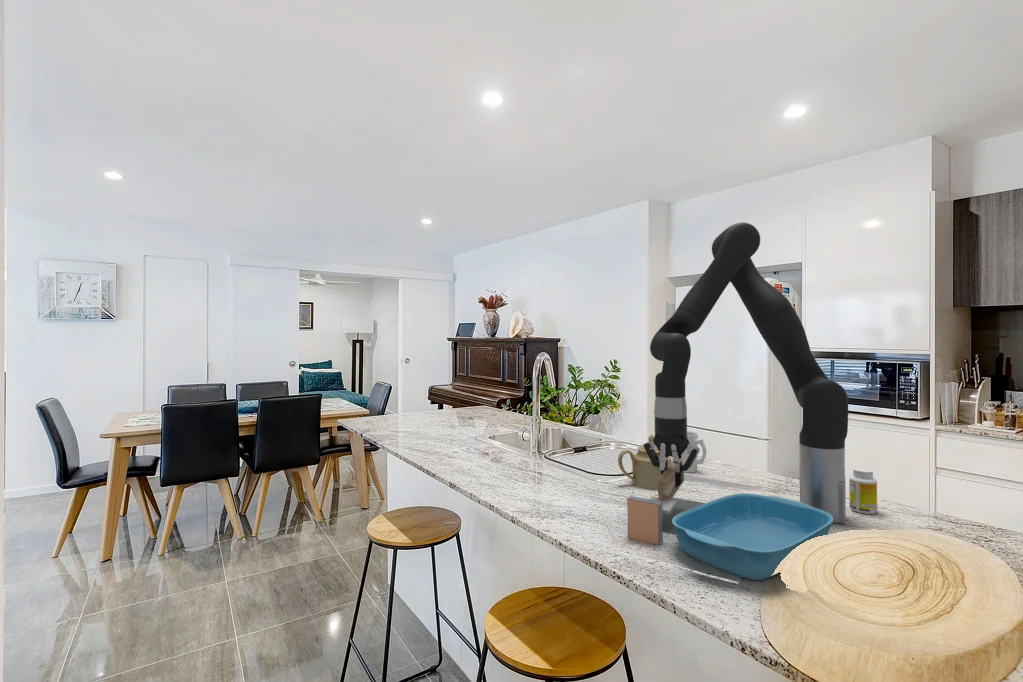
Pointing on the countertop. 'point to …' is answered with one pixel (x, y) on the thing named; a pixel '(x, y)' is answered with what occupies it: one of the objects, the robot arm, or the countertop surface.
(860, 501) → the supplement bottle
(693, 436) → the mug
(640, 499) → the tile
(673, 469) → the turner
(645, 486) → the beige teapot
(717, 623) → the countertop surface
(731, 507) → the casserole dish
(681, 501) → the mat
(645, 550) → the countertop surface
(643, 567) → the countertop surface
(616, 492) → the countertop surface
